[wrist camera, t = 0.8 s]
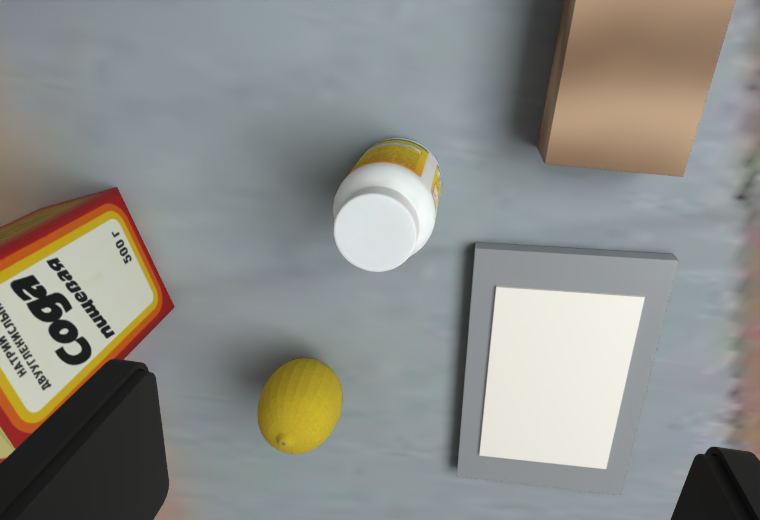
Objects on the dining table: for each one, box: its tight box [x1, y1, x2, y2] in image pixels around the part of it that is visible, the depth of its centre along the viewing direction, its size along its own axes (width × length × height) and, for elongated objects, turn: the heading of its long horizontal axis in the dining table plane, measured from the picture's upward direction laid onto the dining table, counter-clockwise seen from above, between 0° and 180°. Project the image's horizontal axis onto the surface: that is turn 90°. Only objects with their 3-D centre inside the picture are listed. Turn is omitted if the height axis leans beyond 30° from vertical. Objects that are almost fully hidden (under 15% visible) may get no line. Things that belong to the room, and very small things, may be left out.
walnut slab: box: [537, 0, 736, 177], centre depth 29 cm, size 12×7×4 cm, turn 176°
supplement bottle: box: [333, 138, 442, 272], centre depth 31 cm, size 5×5×10 cm
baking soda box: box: [0, 187, 174, 464], centre depth 34 cm, size 10×6×16 cm
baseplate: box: [457, 242, 679, 495], centre depth 39 cm, size 19×12×1 cm, turn 0°
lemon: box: [258, 358, 343, 454], centre depth 39 cm, size 6×6×8 cm
